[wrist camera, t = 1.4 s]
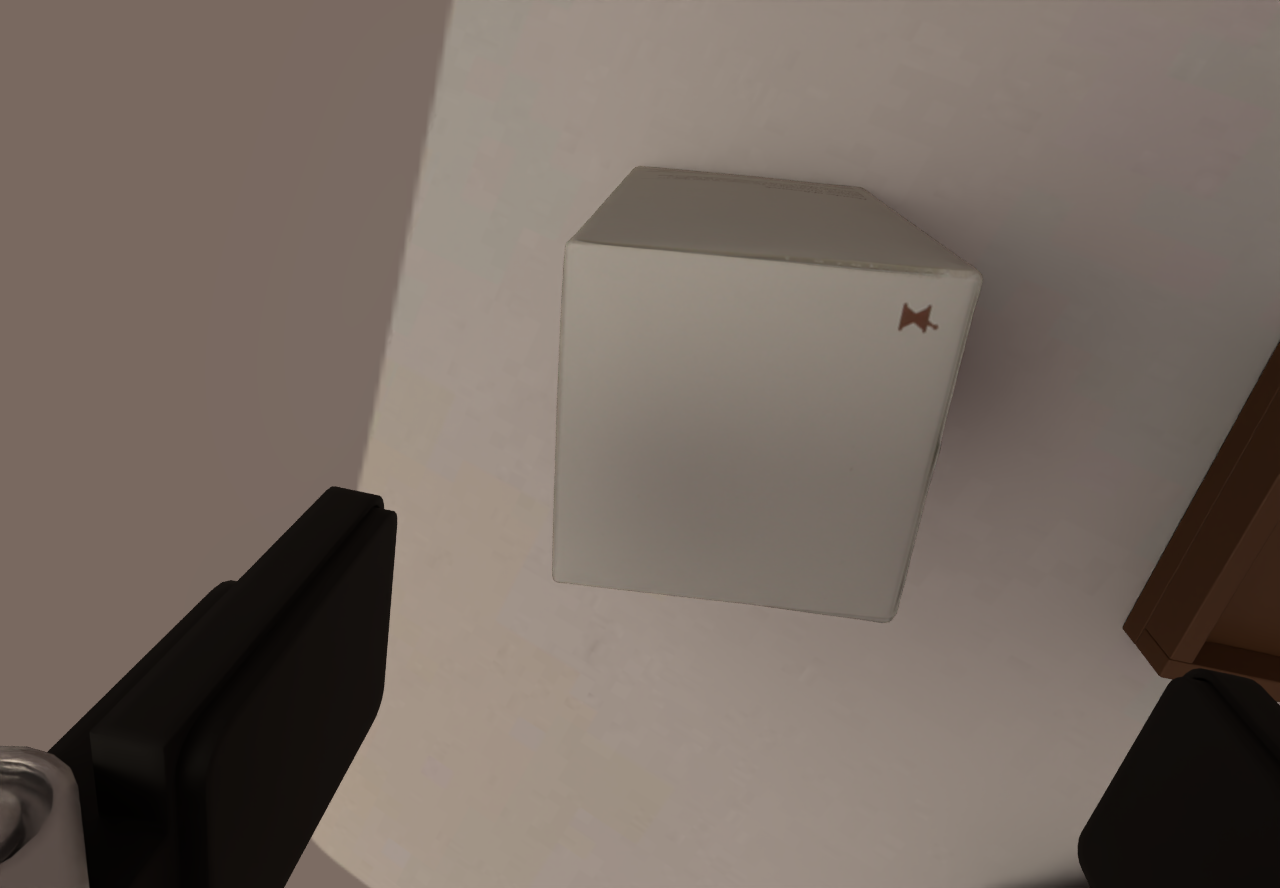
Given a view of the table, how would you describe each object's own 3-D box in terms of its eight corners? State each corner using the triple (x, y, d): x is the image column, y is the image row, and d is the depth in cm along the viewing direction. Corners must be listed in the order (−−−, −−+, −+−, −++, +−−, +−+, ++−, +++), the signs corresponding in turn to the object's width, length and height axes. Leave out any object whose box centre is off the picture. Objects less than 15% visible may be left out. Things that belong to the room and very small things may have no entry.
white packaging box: (630, 159, 25) (558, 221, 13) (869, 185, 25) (1005, 270, 13) (611, 383, 28) (541, 589, 16) (824, 407, 28) (904, 634, 16)
